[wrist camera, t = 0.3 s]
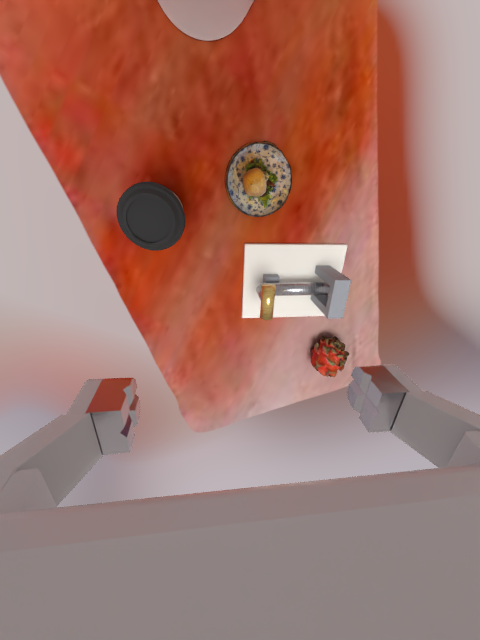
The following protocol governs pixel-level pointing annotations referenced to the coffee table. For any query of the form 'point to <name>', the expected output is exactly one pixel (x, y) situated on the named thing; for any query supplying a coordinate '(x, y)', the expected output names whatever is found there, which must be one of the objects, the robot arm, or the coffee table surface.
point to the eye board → (295, 278)
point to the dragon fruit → (329, 356)
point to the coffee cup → (151, 215)
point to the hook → (286, 293)
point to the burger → (258, 179)
